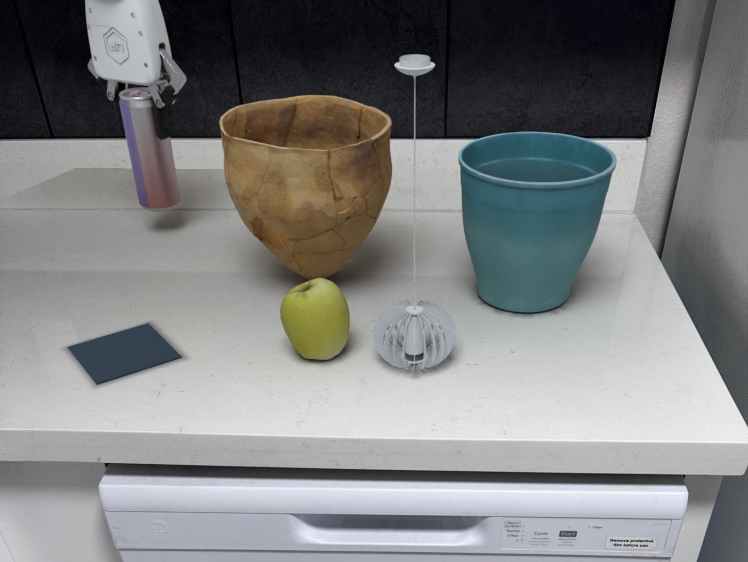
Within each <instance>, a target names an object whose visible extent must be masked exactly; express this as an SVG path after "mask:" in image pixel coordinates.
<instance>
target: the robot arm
mask: <svg viewBox="0 0 748 562" xmlns="http://www.w3.org/2000/svg"><path fill="white" fill-rule="evenodd" d="M84 2H85V3H84V4H85V5H84V7H85V20H86V29H87V36H88V42H89V48H90V54H91V58H89V61H88V63H87V69H88V70H89V72H90V73H91V74H92V75H93V76H94V78H95V79H96V80H98V83H99V85H100V86H101V88H103V90H104V91H105V92H106V97H107V99H108V100H109V101H112V105H113V111H114V115H115V120H116V125H117V130H118V132H119V133H120V134H125V130H124V125H123V120H122V115H121V110H120V105H119V100H120V96H119V93H120V92H121V91H123V90H126V89H129V84H130V85H137V86H147V88H149V91H150V93H151V95H152V97H153V99H154V102H155V104H156V106H157V107H154V108H153V113H154V119H155V124H156V130H157V136H158V138H159V139H161V140H164V139H167V138H169V137H170V138H172V137H173V136H175V135H176V133H177V132H176V131H177V130H176V125H175V124H176V123H175V118H174V112H173V105H174V104H175V102H176V98H177V97H178V95H179V94H180V91H181V89H182V88H183V87H184V85H185V84H186V82H187V79H188V78H187V75H186V74H185V73H184V72H183V70H182V69H181V68H180V66H179V65H178V64H177V63H176V61H175V60H174V58H173V57H172V51H171V50H172V49H171V45H170V39H169V35H168V31H167V27H166V22H165V19H164V15H163V11H162V8H161V5H160V1H159V0H84ZM168 80H169V81H168ZM160 91H161V92H160Z"/></svg>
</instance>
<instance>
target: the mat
mask: <svg viewBox="0 0 748 562" xmlns="http://www.w3.org/2000/svg"><path fill="white" fill-rule="evenodd" d="M67 350H69V351H70V353H71V354H72V355H73V357H74V358H75V359H76V360H77V361H78V363H79V364H80V366H81V367H82V368H83V369H84V370H85V372H86V373H87V374H88V375H89V377H90V378H91V379H92V380H93V382H94V383H95V384H96V385H101V384H104V383H107V382H110V381H114V380H115V379H119V378H122V377H125V376H128V375H132V374H134V373H135V374H136V373H138V372H141V371H144V370H148V369H150V368H154V367H157V366H160V365H163V364H166V363H169V362H172V361H175V360H179V359H181V358H182V357H183V356H182V354H180V353H179V352H178V351H177V350H176V348H174V347H173V346H172V345H171V344H170V343H169V342H168V341H167V340H166V339H165V337H163V336H162V335H161V334H160V333H159V332H158V330H156V329H155V328H154V327H153V325H151V324H150V323H149V322H147V323H143V324H140V325H136V326H133V327H130V328H127V329H123V330H119V331H116V332H113V333H109V334H105V335H102V336H99V337H96V338H92V339H89V340H85V341H83V342H79V343H75V344H72V345H68V346H67Z"/></svg>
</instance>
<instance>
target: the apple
mask: <svg viewBox="0 0 748 562" xmlns="http://www.w3.org/2000/svg"><path fill="white" fill-rule="evenodd" d="M310 278H311V276H310V277H309V279H308V281H305V282H302V283H300V284H298V285H296V286H295V287H293V288H291V289H290V290H289V291H288V292H287V294H286V295H285V296H284V297H283V299H282V300H281V303H280V307H279V315H280V321H281V325H282V328H283V330H284V333H285V335H286V336H287V338H288V340H289V342H290V343H291V345H292V347H293V349H294V350H296V352H297V353H298V354H299V355H300V356H301V357H302V358H304V359H307V360H318V361H319V360H320V361H321V360H322V361H323V360H325V361H326V360H327V361H328V360H331V359H333V358H334V357H336V356H337V355H339V354H340V353H341V352H342V350H343V349H344V348H345V346H346V345H347V342H348V339H349V336H350V335H349V334H350V327H351V326H350V325H351V316H350V308H349V304H348V301H347V299H346V296H345V294H344V293H343V291H342V290H341V289H340V287H339V286H338V285H337V284H336V283H334V282H333V281H332V280H329V279H327V278H317V279H313V280H310Z"/></svg>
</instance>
